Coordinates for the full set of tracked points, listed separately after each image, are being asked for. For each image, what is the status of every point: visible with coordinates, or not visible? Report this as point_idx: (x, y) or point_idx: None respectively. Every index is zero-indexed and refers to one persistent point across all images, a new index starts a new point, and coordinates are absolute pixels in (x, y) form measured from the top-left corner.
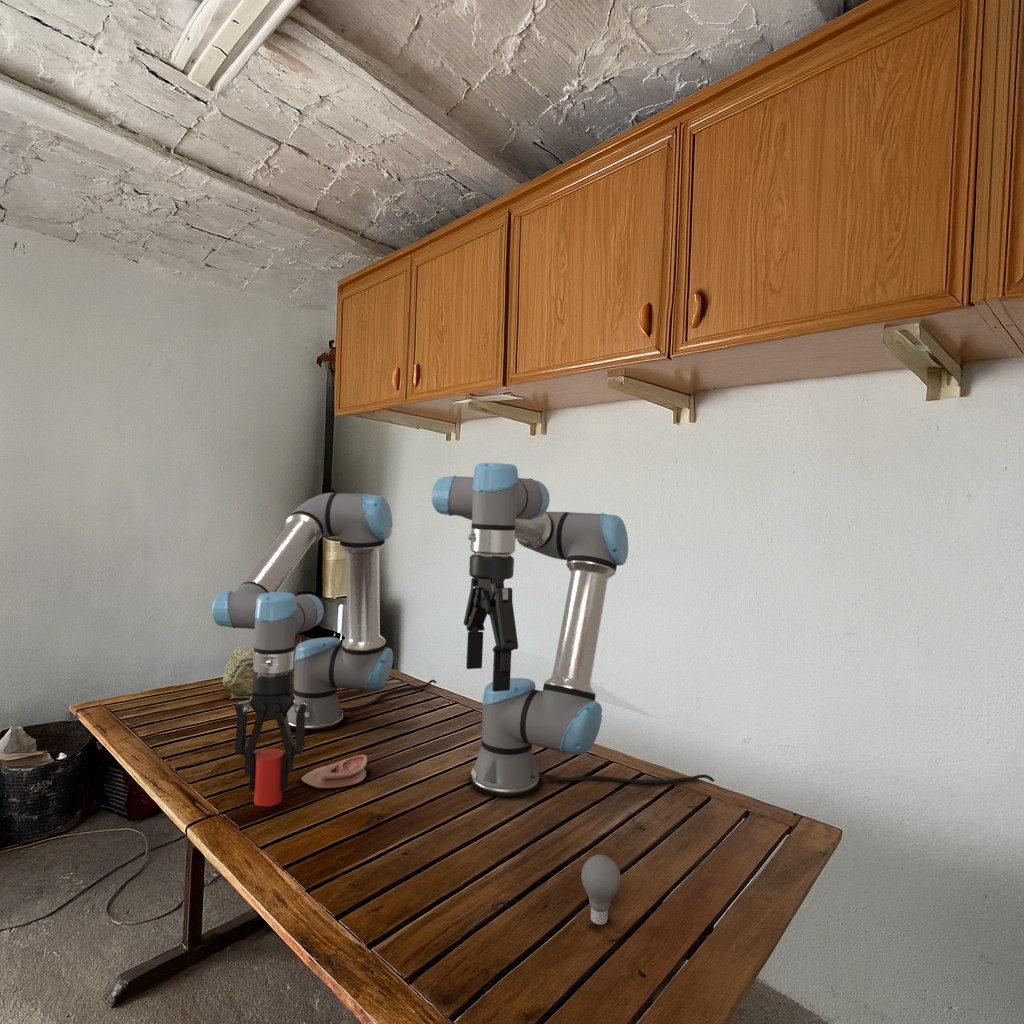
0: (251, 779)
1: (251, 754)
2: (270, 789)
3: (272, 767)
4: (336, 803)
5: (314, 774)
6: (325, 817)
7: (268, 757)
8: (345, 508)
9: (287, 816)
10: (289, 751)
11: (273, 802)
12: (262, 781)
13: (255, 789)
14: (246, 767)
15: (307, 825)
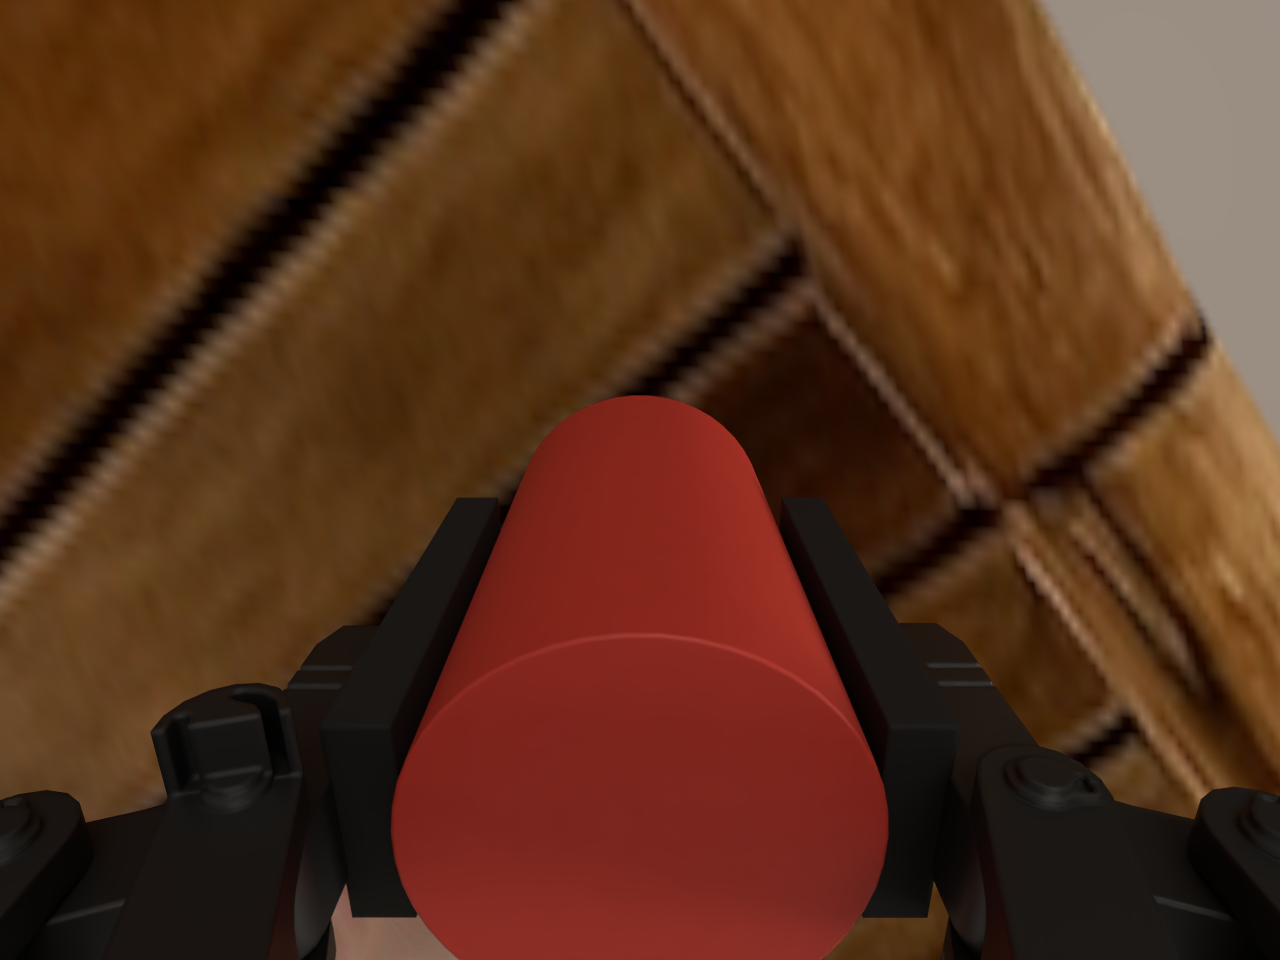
0: (834, 556)
1: (975, 806)
2: (585, 450)
3: (546, 575)
4: (177, 617)
5: (423, 942)
6: (183, 414)
7: (625, 710)
8: None
9: (483, 442)
10: (203, 838)
11: (565, 422)
12: (682, 479)
13: (760, 492)
14: (958, 668)
15: (281, 293)
